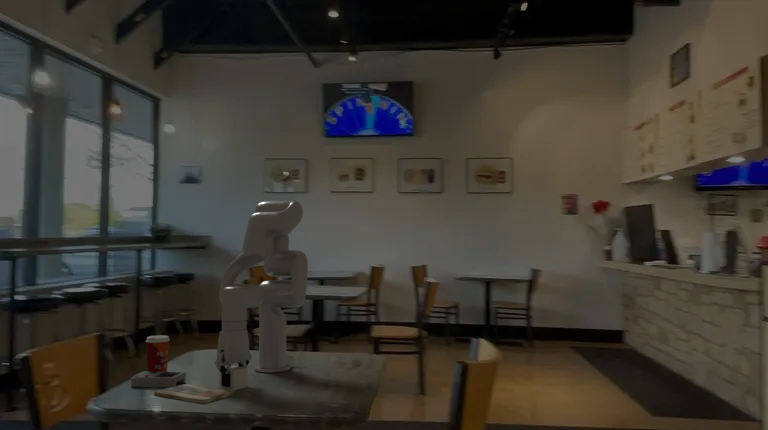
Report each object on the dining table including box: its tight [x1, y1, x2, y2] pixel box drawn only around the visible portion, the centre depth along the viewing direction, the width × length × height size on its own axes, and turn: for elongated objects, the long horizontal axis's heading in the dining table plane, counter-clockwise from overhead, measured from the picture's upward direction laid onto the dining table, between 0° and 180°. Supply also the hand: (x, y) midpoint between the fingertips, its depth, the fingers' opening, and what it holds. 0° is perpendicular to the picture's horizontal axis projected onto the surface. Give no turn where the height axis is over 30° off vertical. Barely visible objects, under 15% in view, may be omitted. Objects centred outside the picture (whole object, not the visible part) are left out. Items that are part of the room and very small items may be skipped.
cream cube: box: [219, 365, 249, 391], centre depth 199 cm, size 6×6×6 cm
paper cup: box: [145, 334, 171, 372], centre depth 211 cm, size 8×8×14 cm
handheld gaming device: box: [130, 370, 187, 389], centre depth 203 cm, size 9×15×4 cm, turn 84°
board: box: [153, 383, 237, 405], centre depth 189 cm, size 13×20×1 cm, turn 60°
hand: (233, 383), depth 199 cm, fingers closed on cream cube, 6 cm apart
